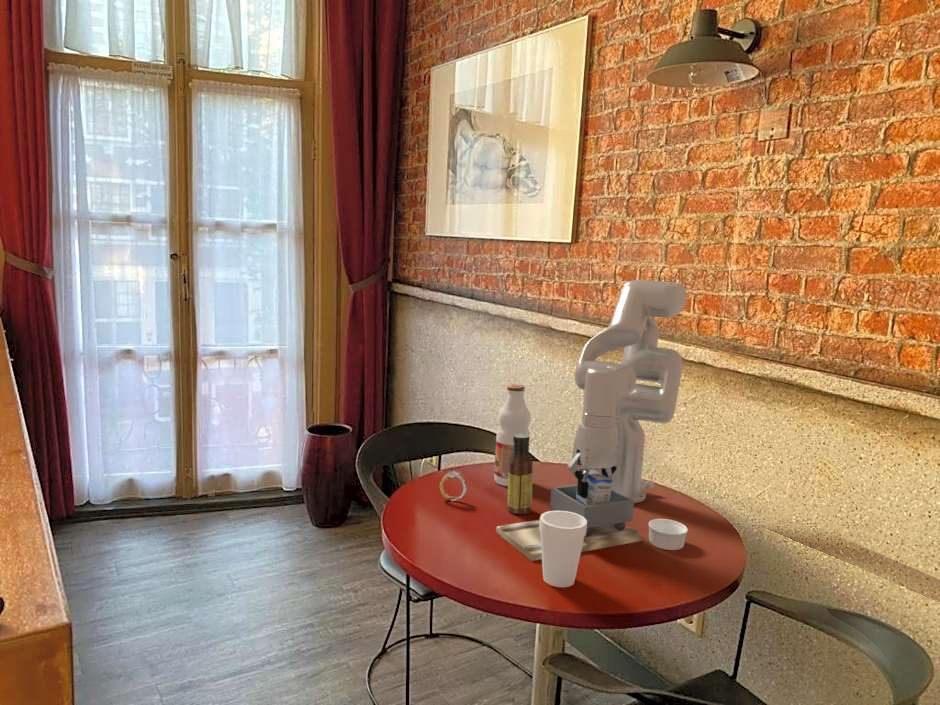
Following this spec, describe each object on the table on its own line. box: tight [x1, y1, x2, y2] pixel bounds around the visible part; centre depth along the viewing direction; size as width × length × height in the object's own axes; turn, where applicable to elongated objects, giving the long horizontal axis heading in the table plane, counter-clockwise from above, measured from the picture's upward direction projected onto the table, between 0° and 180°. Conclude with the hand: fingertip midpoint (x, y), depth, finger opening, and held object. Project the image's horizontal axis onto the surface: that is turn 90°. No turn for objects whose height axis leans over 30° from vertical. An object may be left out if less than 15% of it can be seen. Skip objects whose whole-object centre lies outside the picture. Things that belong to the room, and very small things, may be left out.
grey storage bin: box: [549, 483, 635, 536], centre depth 168 cm, size 14×14×7 cm
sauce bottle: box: [507, 434, 534, 515], centre depth 179 cm, size 7×6×20 cm
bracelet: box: [439, 470, 468, 502], centre depth 185 cm, size 7×3×8 cm, turn 74°
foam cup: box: [539, 510, 587, 588], centre depth 144 cm, size 10×9×13 cm
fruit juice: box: [493, 383, 531, 487], centre depth 200 cm, size 9×9×28 cm
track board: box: [495, 519, 643, 562], centre depth 166 cm, size 30×16×2 cm, turn 117°
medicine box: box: [576, 469, 612, 506], centre depth 168 cm, size 8×4×9 cm, turn 24°
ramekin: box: [648, 518, 689, 551], centre depth 165 cm, size 9×9×4 cm
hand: (592, 494), depth 168 cm, fingers open, 5 cm apart
